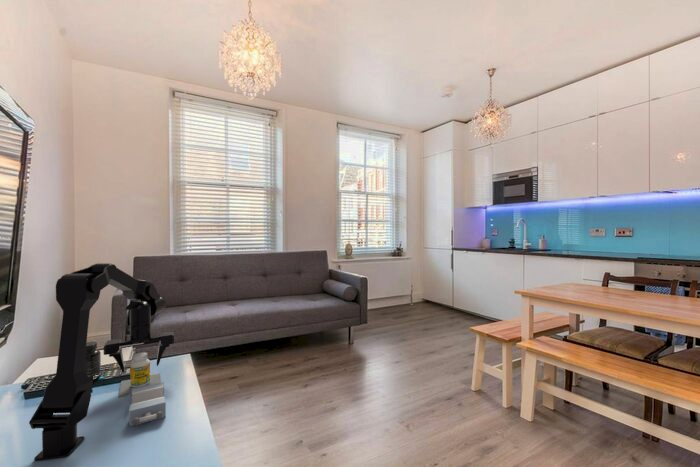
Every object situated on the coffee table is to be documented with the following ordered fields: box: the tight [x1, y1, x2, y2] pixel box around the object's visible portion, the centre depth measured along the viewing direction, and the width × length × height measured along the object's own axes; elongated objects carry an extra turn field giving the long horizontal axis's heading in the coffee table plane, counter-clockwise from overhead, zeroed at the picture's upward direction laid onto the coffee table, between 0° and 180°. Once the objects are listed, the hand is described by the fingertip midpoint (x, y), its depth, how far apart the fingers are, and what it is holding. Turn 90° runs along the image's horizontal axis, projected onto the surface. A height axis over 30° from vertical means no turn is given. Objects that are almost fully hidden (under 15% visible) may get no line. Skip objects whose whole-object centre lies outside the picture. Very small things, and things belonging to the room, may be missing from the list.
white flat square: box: [118, 373, 162, 398], centre depth 104 cm, size 11×11×1 cm
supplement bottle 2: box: [129, 351, 151, 388], centre depth 104 cm, size 5×5×10 cm
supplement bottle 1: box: [84, 341, 102, 376], centre depth 108 cm, size 7×7×12 cm
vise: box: [129, 381, 167, 427], centre depth 89 cm, size 16×8×4 cm, turn 32°
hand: (140, 368), depth 104 cm, fingers open, 9 cm apart
